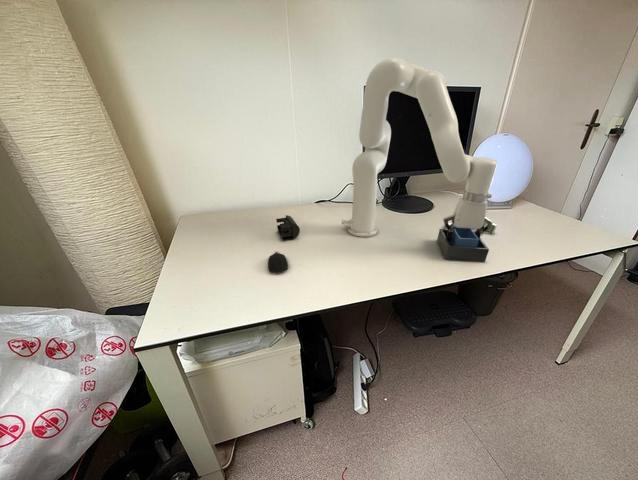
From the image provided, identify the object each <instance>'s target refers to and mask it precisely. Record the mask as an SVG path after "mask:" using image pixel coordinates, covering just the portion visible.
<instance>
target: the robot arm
mask: <svg viewBox="0 0 638 480" xmlns="http://www.w3.org/2000/svg"><path fill="white" fill-rule="evenodd" d="M367 76H368V77H367V78H366V82H365V85H364V92H363V103H362V110H361V115H360V116H361V117H360V125H359V130H358V131H359V132H358V140H359V143H360V144H361V146H362V147H364V148H365V149H364V151H363V152H361V153H360V154H358V155H357V156H356V157H355V158H354V160H353V163H352V166H351V168H352V170H351V171H352V172H351V173H352V184H353V185H352V187H353V189H352V210H351V211H352V213H351V219H348V220H347V219H341V225H343V227H347V231H348V233H349V234H350V235H352V236H356V237H362V238H366V237H372V236H374V235H376V234H378V227H377V226H376V225H375V220H376V219H375V218H376V210H377V209H376V208H377V199H378V198H377V197H378V174H379V173H381V172H382V171H383V170H384V169H385V167H386V164H387V160H388V155H389V149H390V143H391V138H392V128H391V124H390V123H389V121H388V120H387V114H388V109H389V98H390V94H391V93H392V92H399V93H401V94H403V95H407V96H410V97H412V98H415V99H417V101H418V103H419V106H420V109H421V111H422V113H423V116H424V119H425V121H426V124H427V127H428V129H429V132H430V136H431V137H430V138H431V140H432V143H433V146H434V150H435V153H436V156H437V159H438V163H439V164H440V167H441V170H442V172H443V175H444V177H445V178H446V179H447V180H448V181H449V182H451V183H455V184H456V183H461V182H463V181H465V180H466V179H467V180H466V184H465V187H464V191H463V195H462V197H460V198H459V199H458V201H457V204H456V206H455V209H454V211H453V214H451V215H448V216H446V217H443V219H442V221H443V224H444V226H445V229H446V228H447V229H448V232H447V236H446V238H447V239H448V241H449V242H450V241H451V239H452V235H453V230H454V229H455V228H468V229H472V230H474V231H475V234H476V236H477V237H478V239H480V238H481V236H482V235H483V234H484V233H485V231H486V230H487V229H488V228H489V227H490V226H491V225H492V224H494V223H493V221H492V220H490V219H489V218H487V217H486V215H487V209H488V199H491V198H492V195H493V194H492V193H489V192H490V189H491V187H492V183H493V180H494V177H495V173H496V171H497V168H498V161H497V160H496V159H494V158H492V157H484V156H483V157H482V156H481V157H480V156H479V157H477V156H473V155H468V154H466V153H465V150H464V148H463V145H462V141H461V138H460V132H459V122H458V118H457V114H456V111H455V109H454V105H453V103H452V101H451V97H450V94H449V91H448V88H447V84H448V83H447V79H446V77H445V75H444V74H442V73H441V72H439V71H438V70H433V69H432V70H431V69H429V68H425V67H422V66H420V65H418V64H414V63H411V62H409V61H407V60H405V59H404V58H401V57H397V56H391V57H388V58H384V59H383V60H381V61H379V62H378V63H377V64H376V65H375V66H374V67H373V68H372V69H371V71H370V72H369V74H368V75H367ZM449 222H451V223H452V224H450V225H449V224H448V223H449ZM483 222H486V225H484V226H483V227H482V225H483Z"/></svg>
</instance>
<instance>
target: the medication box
mask: <svg viewBox="0 0 638 480" xmlns="http://www.w3.org/2000/svg"><path fill="white" fill-rule="evenodd" d="M484 225H486V222H483V225H482V227H483V226H484ZM497 227H498V224H495V223H493V224H492V225H491V226H490V227H489V228H488V229H487V230H486V231H484V233H485V232H486V233H488V234H490V235H493V234H495V232H496V230H497Z"/></svg>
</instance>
